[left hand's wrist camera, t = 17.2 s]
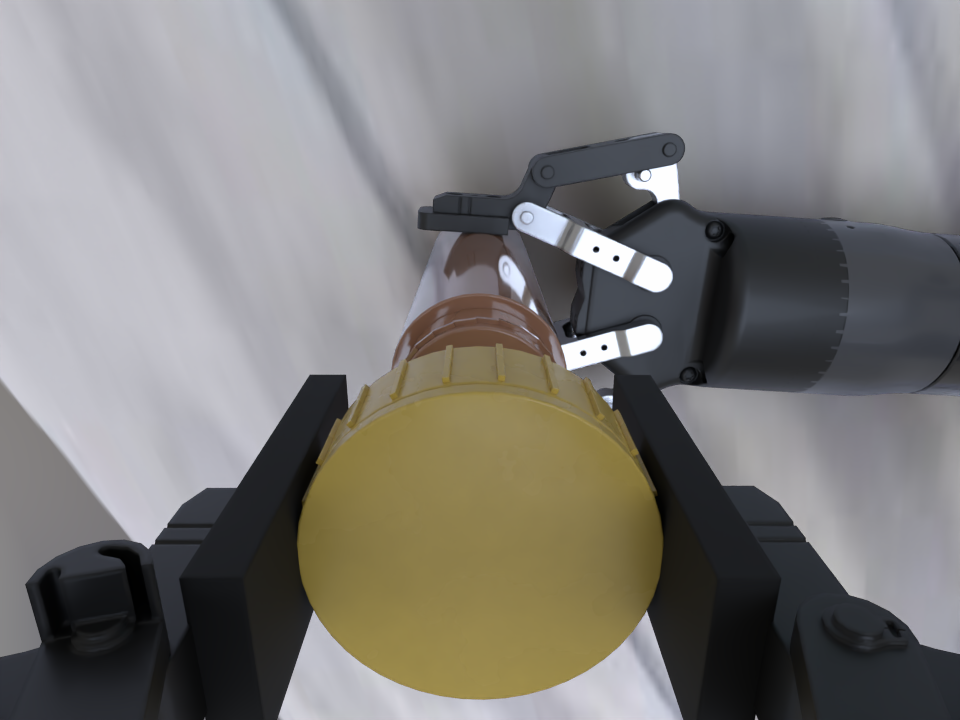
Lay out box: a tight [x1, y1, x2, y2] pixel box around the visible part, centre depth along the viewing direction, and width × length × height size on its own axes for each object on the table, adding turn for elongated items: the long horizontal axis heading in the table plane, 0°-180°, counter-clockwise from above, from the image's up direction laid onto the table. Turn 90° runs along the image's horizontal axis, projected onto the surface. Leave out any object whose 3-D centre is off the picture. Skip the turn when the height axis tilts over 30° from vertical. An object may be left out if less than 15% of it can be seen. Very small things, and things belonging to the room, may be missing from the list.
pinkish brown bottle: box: [391, 230, 567, 370], centre depth 26 cm, size 5×5×19 cm
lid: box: [297, 343, 664, 700], centre depth 11 cm, size 6×6×2 cm
